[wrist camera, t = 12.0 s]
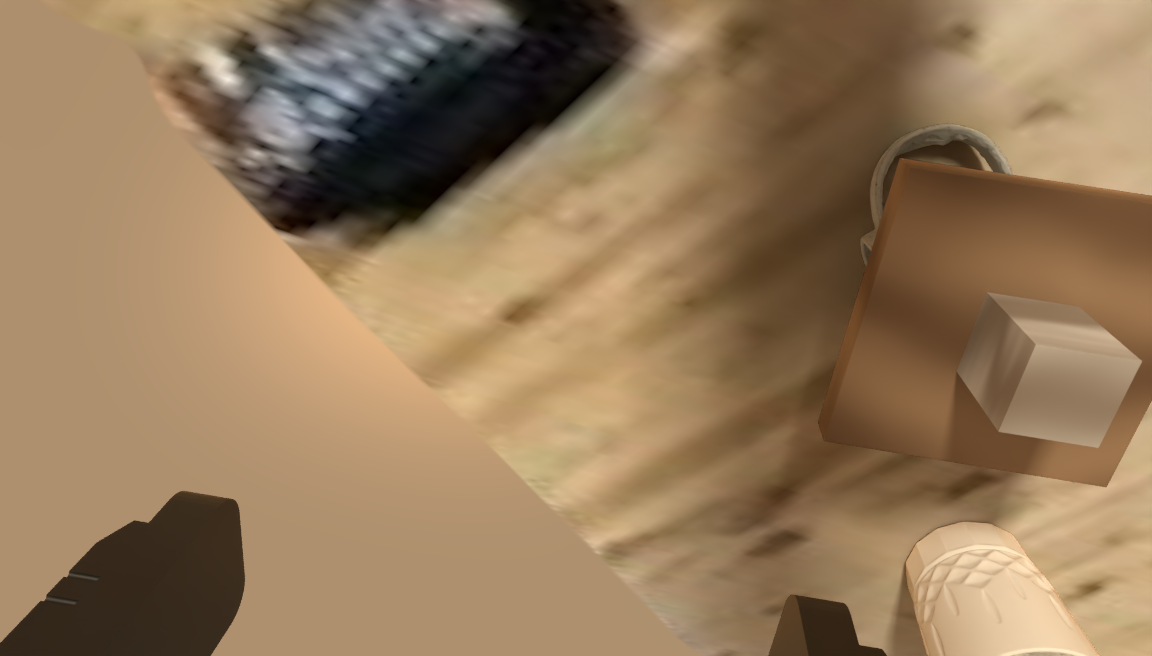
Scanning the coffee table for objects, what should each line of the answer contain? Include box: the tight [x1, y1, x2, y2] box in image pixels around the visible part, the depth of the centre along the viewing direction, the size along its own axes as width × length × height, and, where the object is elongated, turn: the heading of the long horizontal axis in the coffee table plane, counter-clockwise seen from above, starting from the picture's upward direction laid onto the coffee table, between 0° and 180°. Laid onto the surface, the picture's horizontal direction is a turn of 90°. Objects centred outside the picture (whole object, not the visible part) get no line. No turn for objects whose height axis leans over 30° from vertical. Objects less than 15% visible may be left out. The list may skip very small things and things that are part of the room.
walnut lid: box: [818, 158, 1152, 487], centre depth 30 cm, size 12×12×6 cm
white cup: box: [906, 522, 1100, 656], centre depth 43 cm, size 8×8×10 cm
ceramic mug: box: [860, 123, 1013, 266], centre depth 35 cm, size 11×8×8 cm
